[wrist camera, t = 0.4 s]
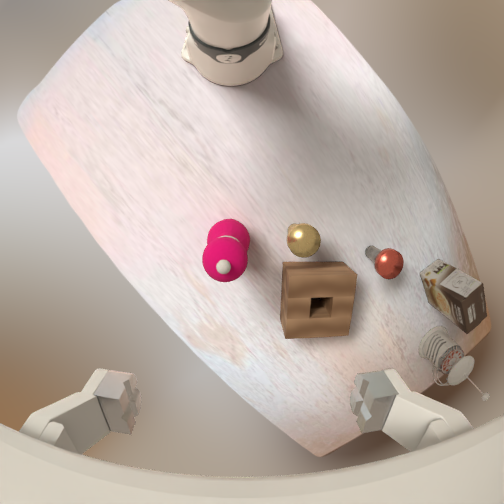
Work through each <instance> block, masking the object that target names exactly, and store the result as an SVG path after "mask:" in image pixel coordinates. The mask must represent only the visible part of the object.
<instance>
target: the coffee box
mask: <svg viewBox="0 0 504 504" xmlns="http://www.w3.org/2000/svg"><path fill="white" fill-rule="evenodd" d="M420 276H421V279H422V282H423V285H424V289H425V292H426V295H427V299H428V302H429V303H430V304H431V305H432V306H433V307H435V308H436V309H437V310H438V311H440V312H441V313H442V314H443V315H445V316H446V317H447V318H448V319H449V320H451V321H452V322H453V323H454V324H456V325H457V326H458V327H459V328H460V329H462V330H463V331H464V332H465V333H466V334H468V333H469V332H470V331H472V330H473V329H474V328H475V327H476V326H478V325H479V324H480V323H481V321H482V320H483V319H484V318H485V317H486V316H487V313H486V303H485V295H484V287H483V283H481V282H480V281H478V280H476V279H475V278H473V277H471V276H469V275H467V274H466V273H464V272H462V271H460V270H458V269H456V268H455V267H453V266H451V265H449V264H447V263H445V262H443V261H441V260H440V259H437V260H436V261H435V262H434V263H432V264H431V265H430V266H428V267H427V268H426V269H424V270H423V271H422V272H420Z"/></svg>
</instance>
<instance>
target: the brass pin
mask: <svg viewBox="0 0 504 504" xmlns="http://www.w3.org/2000/svg"><path fill="white" fill-rule="evenodd" d="M320 243H321V238H320V235H319V233H318V231H317V230H316V229H315V228H314V227H312V226H311V225H309V224H305V223H301V224H292V225H290V226H289V228H288V235H287V244H288V247H289V248H290V250H291V252H292V253H293V254H295V255H296V256H298V257H309V256H312V255H313V254H315V253H316V252H317V250H318V249H319V247H320Z"/></svg>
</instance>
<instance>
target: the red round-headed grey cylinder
mask: <svg viewBox="0 0 504 504" xmlns="http://www.w3.org/2000/svg"><path fill="white" fill-rule="evenodd" d="M365 254H366V256H367V257H368V258H369V259H371V260H372V261H374V262H375V269H376V271H377V273H378V274H379V275H381V276H382V277H383V278H385V279H393V278H395V277H396V276H398V275H399V274H400V272H401V270H402V268H403V257H402V255H401V254H400V253H399V252H397V251H396V250H394V249H391V248H387V249H384V250H382V251H381V250H380V249H378V248H376V247H375V246H369V247H367V249H366V251H365Z"/></svg>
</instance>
